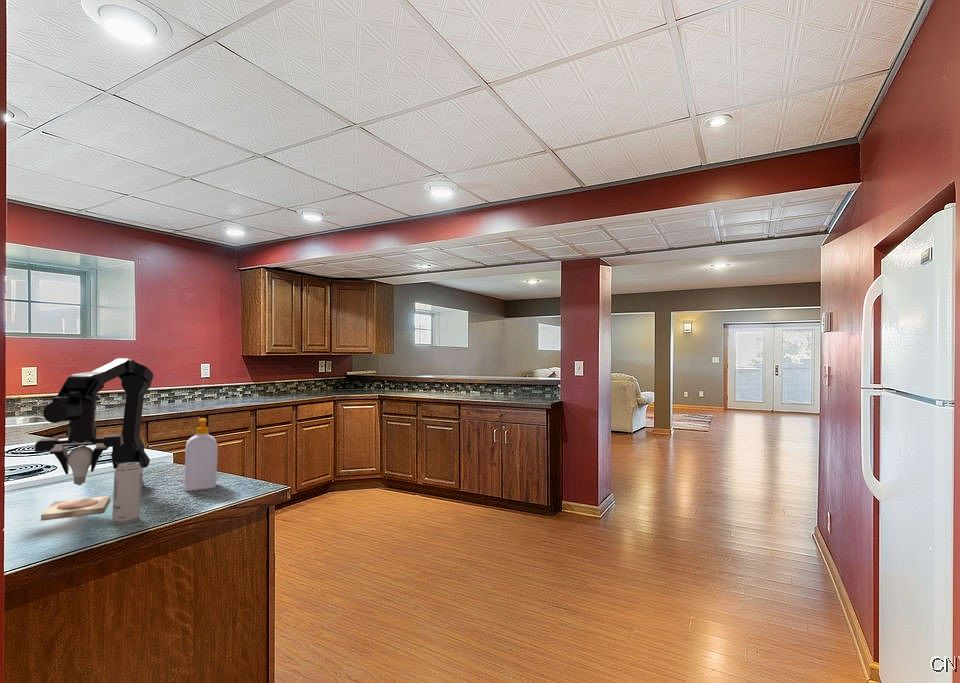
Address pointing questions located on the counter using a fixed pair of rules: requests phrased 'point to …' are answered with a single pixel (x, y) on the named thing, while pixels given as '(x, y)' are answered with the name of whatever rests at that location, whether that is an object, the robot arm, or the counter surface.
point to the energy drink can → (127, 492)
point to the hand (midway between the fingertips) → (79, 472)
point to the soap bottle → (200, 460)
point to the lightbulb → (80, 463)
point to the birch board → (76, 507)
